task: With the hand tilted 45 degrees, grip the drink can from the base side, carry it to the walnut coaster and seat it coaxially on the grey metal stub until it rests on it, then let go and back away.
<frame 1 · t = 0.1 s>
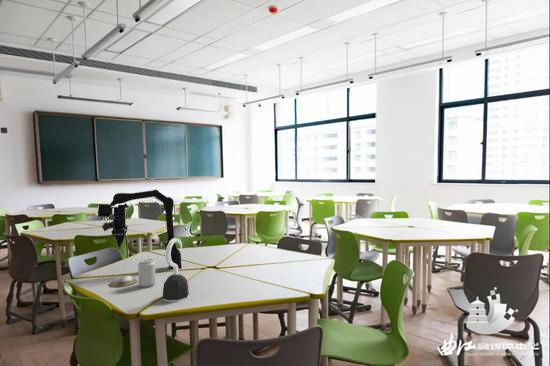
hand: (120, 245, 189), 15 cm above the table, tool pointing down, fingers open, 9 cm apart
hook: (175, 297, 148), on the table
stub stand: (123, 283, 169), on the table
can: (147, 286, 165), on the table
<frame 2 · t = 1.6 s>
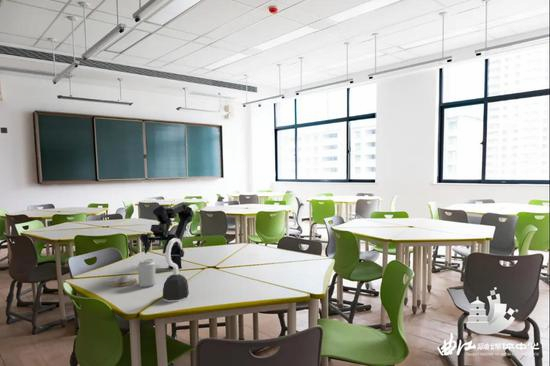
hand: (154, 253, 173), 13 cm above the table, tool tilted 45°, fingers open, 9 cm apart
nothing on the table moved.
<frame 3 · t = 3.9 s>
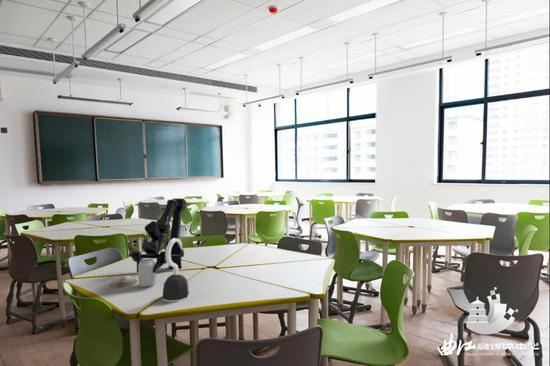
hand: (145, 272, 164), 7 cm above the table, tool tilted 45°, fingers closed on can, 7 cm apart
can: (147, 285, 165), on the table, touching gripper
everything else where it was.
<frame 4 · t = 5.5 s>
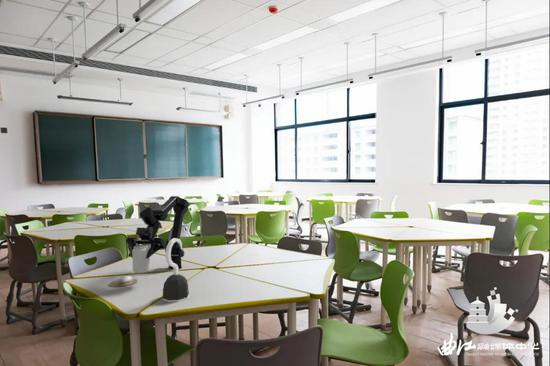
hand: (139, 257, 164), 13 cm above the table, tool tilted 45°, fingers closed on can, 7 cm apart
can: (141, 271, 166), point 6 cm above the table, touching gripper
everything else where it was.
when the fingers open (10 cm above the table, at t = 7.5 s): can stays where it is, resting on stub stand.
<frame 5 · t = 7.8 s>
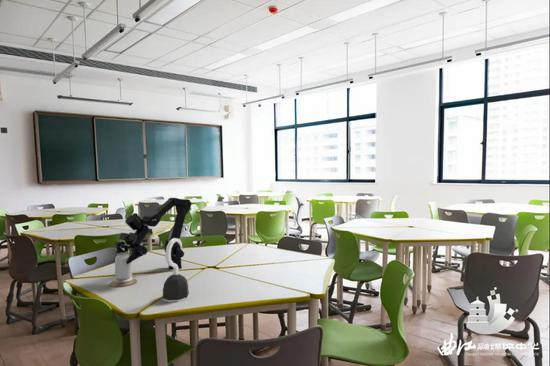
hand: (120, 262, 168), 10 cm above the table, tool tilted 45°, fingers open, 9 cm apart
can: (123, 278, 169), point 2 cm above the table, touching stub stand
everything else where it was.
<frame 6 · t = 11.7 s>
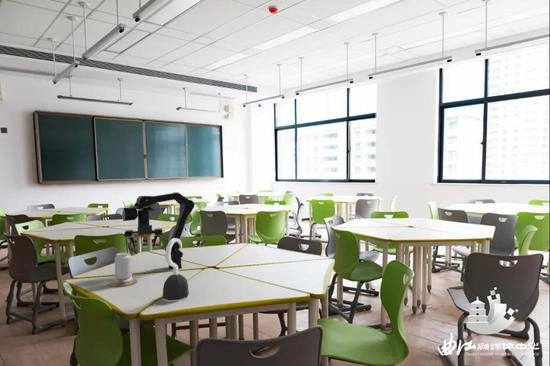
hand: (144, 248, 187), 13 cm above the table, tool pointing down, fingers open, 9 cm apart
nothing on the table moved.
at the end: can 0.2 cm from the stub stand (horizontally); can touching stub stand; can tilted 0° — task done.
